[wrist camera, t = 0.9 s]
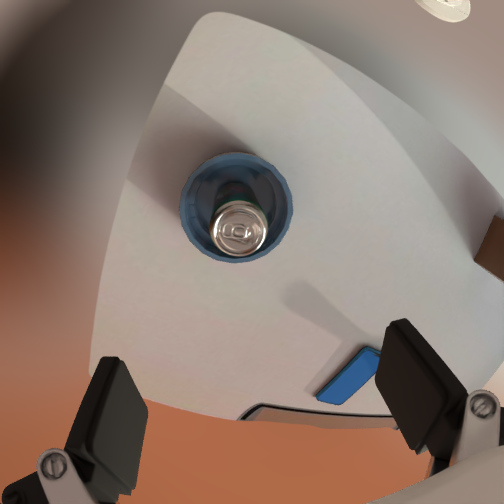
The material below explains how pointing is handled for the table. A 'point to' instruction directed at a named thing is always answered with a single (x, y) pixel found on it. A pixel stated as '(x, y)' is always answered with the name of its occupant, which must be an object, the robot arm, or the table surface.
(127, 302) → the table surface
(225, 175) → the bowl
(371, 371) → the smartphone
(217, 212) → the soda can
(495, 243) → the plinth
